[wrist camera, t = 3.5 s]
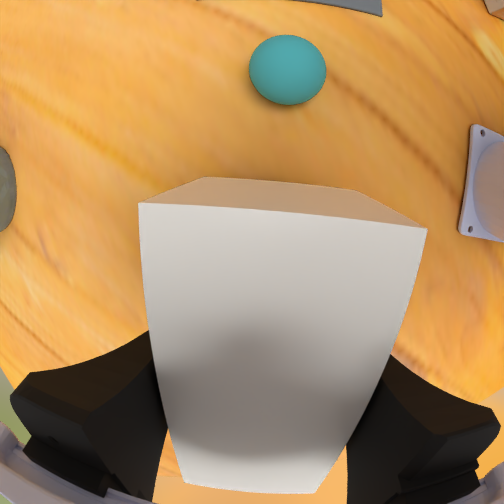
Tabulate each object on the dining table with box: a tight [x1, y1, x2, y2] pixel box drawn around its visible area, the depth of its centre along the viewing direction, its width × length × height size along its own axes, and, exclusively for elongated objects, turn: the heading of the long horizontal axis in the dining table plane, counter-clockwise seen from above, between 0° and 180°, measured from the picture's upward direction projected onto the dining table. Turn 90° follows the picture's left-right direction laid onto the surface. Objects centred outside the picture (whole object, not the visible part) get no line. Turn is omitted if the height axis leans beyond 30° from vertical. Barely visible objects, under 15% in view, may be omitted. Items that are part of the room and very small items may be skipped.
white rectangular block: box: [138, 177, 428, 494], centre depth 10 cm, size 6×12×6 cm, turn 177°
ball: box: [249, 35, 326, 105], centre depth 13 cm, size 4×4×4 cm
